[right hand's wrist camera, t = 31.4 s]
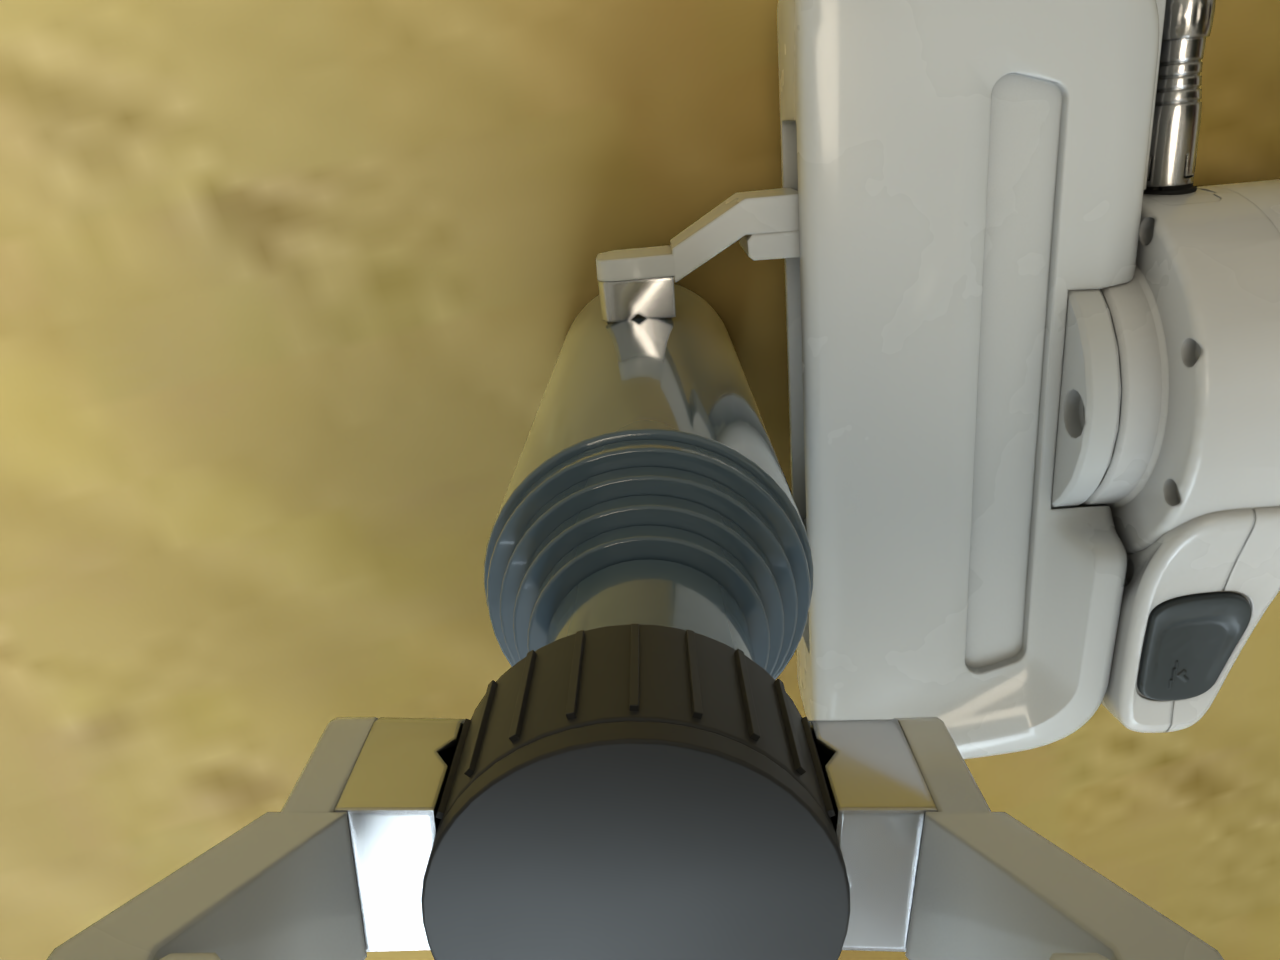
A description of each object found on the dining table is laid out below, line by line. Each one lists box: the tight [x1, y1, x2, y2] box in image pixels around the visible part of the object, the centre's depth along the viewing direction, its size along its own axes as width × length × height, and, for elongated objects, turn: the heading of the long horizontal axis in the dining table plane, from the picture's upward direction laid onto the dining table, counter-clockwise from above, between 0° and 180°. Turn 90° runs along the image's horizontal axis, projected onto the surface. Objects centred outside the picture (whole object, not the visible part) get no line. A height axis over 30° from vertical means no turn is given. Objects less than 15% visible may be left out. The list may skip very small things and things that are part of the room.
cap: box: [421, 624, 850, 960], centre depth 9 cm, size 4×4×2 cm
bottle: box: [484, 284, 814, 679], centre depth 19 cm, size 5×5×19 cm
